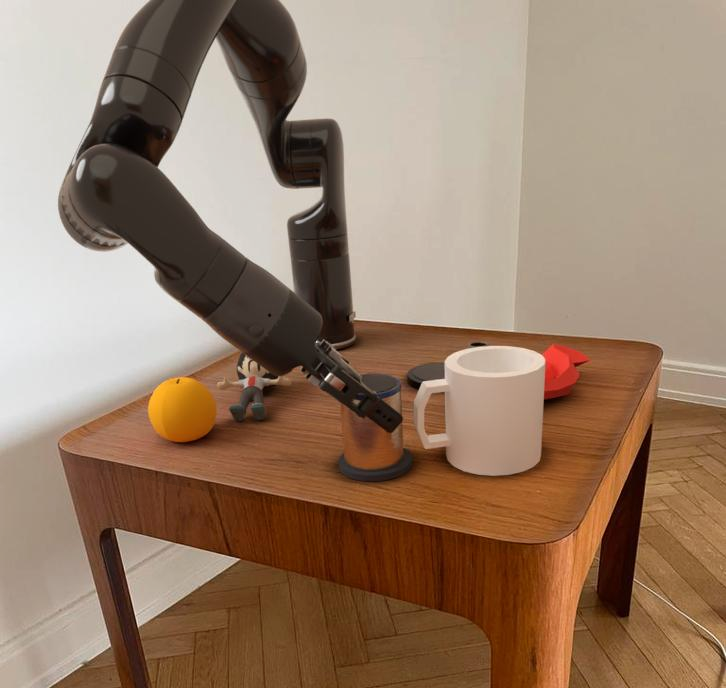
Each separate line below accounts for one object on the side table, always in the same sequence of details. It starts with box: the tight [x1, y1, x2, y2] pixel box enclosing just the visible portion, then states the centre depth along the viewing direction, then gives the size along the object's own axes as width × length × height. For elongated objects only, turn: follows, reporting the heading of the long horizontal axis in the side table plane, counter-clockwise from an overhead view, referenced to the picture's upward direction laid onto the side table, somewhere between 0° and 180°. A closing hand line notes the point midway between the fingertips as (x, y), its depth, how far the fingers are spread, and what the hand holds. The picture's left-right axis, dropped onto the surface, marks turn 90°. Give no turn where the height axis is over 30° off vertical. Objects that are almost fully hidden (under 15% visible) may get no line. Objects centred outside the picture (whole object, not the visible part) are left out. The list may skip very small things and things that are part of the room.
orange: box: [147, 376, 218, 443], centre depth 90 cm, size 8×8×8 cm
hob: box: [406, 361, 445, 391], centre depth 103 cm, size 9×9×1 cm
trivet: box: [337, 447, 413, 482], centre depth 81 cm, size 8×8×1 cm
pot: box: [339, 373, 404, 471], centre depth 79 cm, size 6×6×8 cm
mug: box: [412, 345, 546, 477], centre depth 79 cm, size 14×10×11 cm
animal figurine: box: [541, 343, 592, 400], centre depth 97 cm, size 12×15×5 cm
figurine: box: [217, 352, 292, 422], centre depth 100 cm, size 10×7×15 cm
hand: (385, 412), depth 79 cm, fingers closed on pot, 6 cm apart
